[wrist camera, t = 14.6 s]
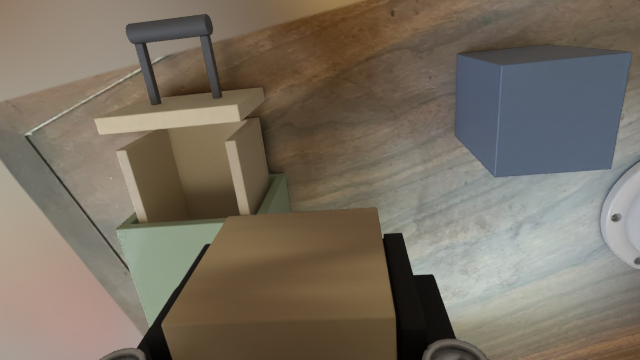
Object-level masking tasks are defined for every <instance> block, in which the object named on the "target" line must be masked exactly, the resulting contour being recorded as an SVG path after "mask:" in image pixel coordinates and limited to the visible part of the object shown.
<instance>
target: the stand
mask: <svg viewBox="0 0 640 360" xmlns="http://www.w3.org/2000/svg"><path fill="white" fill-rule="evenodd" d="M631 58H632V52H629V51H617V50H606V49H594V48H583V47H571V46H560V45H548V44H545V45H536V46H526V47H517V48H508V49H499V50H489V51H480V52H471V53H461V54H457V76H456V122H455V136H456V137H457V138H458V139H459V140H460V142H461V143H462V144H463V145H464V146H465V147H466V148H467V149H468V150H469V151H470V152H471V153H472V154H473V155H474V156H475V157H476V158H477V159H478V160H479V161H480V162H481V164H482V165H483V166H484V167H485V168H486V169H487V170H488V171H489V172H490V173H491V174H492V175H493V176H494V177H506V176H520V175H534V174H548V173H562V172H576V171H590V170H604V169H611V166H612V161H613V155H614V150H615V145H616V139H617V134H618V128H619V123H620V118H621V112H622V107H623V101H624V96H625V90H626V85H627V80H628V74H629V69H630V63H631Z"/></svg>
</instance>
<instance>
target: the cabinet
mask: <svg viewBox="0 0 640 360" xmlns="http://www.w3.org/2000/svg"><path fill="white" fill-rule="evenodd" d="M269 179H270V184H271V187H270V189H269V191H268V193H267V195H266V197H265V199H264V201H263V203H262V205H261V207H260V209H259V211H258V213H257V215H260V214H276V213H291V207H290V200H289V194H288V187H287V181H286V174H285V173H279V174H269ZM226 219H227V218H219V219H203V220H188V221H172V222H157V223H141V224H139V221H138V218H137V215H136V212H135V213H134V214H133V215H131V216H130V217H129V218H128V219H127V220H126V221H124V222H123V223H122V224H121V225H120V226H119V227H118V228H116V233H117V236H118V239H119V242H120V245H121V247H122V250H123V253H124V256H125V259H126V262H127V264H128V267H129V270H130V273H131V276H132V279H133V281H134V284H135V287H136V290H137V293H138V296H139V299H140V301H141V304H142V307H143V310H144V313H145V316H146V318H147V321H148V324H149V327H151V325H152V324H153V322H154V321H155V319H156V318H157V316H158V315H159V313H160V311H161V310H162V308H163V307H164V305H165V304H166V302H167V301H168V299H169V298H170V296H171V294H172V293H173V291H174V290H175V289H176V288H177V287H178V286H179V284H180V283H181V281H182V279H183V278H184V276H185V275H186V273H187V272H188V270H189V269H190V267H191V265H192V264H193V262H194V261H195V259H196V258H197V256H198V255H199V253H200V251H201V250H202V248H203V247H204V245H205V244H211V243H212V241H213V240H214V238H215V236H216V235H217V233H218V232H219V230H220V228H221V227H222V225H223V224H224V222H225V220H226Z"/></svg>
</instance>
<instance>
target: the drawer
mask: <svg viewBox="0 0 640 360" xmlns="http://www.w3.org/2000/svg"><path fill="white" fill-rule="evenodd" d="M212 32H213V27H212V22H211V19H210V17H209V16H208V15H207V14H202V15H195V16H187V17H179V18H172V19H164V20H156V21H148V22H141V23H133V24H128V25H127V26H126V34H127V37H128V39H129V41H130V42H131V43H133V44H135V47H136V51H137V54H138V58H139V62H140V65H141V69H142V73H143V76H144V80H145V83H146V87H147V91H148V94H149V98H150V99H148V100H145V101H142V102H139V103H136V104H134V105H131V106H128V107H125V108H122V109H119V110H117V111H114V112H111V113H108V114H105V115H102V116H100V117H97V118H95V119H94V120H95V123H96V126H97V129H98V132H99V134H100V135H103V134H113V133H124V132H135V131H145V130H155V131H153V132H151V133H149V134H147V135H145V136H143V137H142V138H140V139H138V140H136V141H134V142H132V143H130V144H128V145H126V146H124V147H122V148H121V149H119V150H117V151H116V153H117V156H118V159H119V163H120V166H121V169H122V172H123V175H124V178H125V181H126V184H127V187H128V190H129V193H130V197H131V200H132V203H133V206H134V209H135V212H136V215H137V218H138V221H139V224H141V223H157V222H172V221H188V220H203V219H219V218H227V217H229V216H244V215H257V213H258V211H259V209H260V207H261V205H262V203H263V201H264V199H265V197H266V195H267V193H268V191H269V189H270V187H271V184H270V179H269V173H268V167H267V161H266V155H265V149H264V144H263V138H262V132H261V126H260V120H259V118H248V119H244V118H245V117H246V116H248V115H249V114H250V113H251V112H252V111H253V110H255V109H256V108H257V107H258V106H259V105H260V104H262V103H263V102H264V101H265V98H264V92H263V87H259V88H249V89H240V90H230V91H221V87H220V82H219V77H218V72H217V67H216V62H215V58H214V53H213V48H212V43H211V38H210V35H211V34H212ZM198 36H200V40H201V45H202V50H203V54H204V59H205V64H206V68H207V73H208V78H209V82H210V87H211V93H201V94H192V95H182V96H173V97H163V98H160V95H159V91H158V87H157V84H156V80H155V76H154V72H153V68H152V65H151V61H150V57H149V53H148V50H147V46H146V43H148V42H157V41H165V40H173V39H182V38H190V37H198ZM156 129H157V130H156Z"/></svg>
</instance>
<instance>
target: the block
mask: <svg viewBox="0 0 640 360" xmlns="http://www.w3.org/2000/svg"><path fill="white" fill-rule="evenodd" d="M162 329H163V332H164V335H165V338H166V341H167V344H168V347H169V350H170V353H171V356H172V359H173V360H397V343H396V316H395V310H394V304H393V298H392V293H391V287H390V281H389V275H388V269H387V263H386V257H385V252H384V246H383V240H382V234H381V228H380V222H379V217H378V211H377V208H376V207H372V208H356V209H340V210H324V211H308V212H292V213H276V214H260V215H244V216H229V217H227V219H226V220H225V222H224V224H223V225H222V227H221V228H220V230H219V232H218V233H217V235H216V236H215V238H214V240H213V241H212V243H211V245H210V246H209V248H208V249H207V251H206V253H205V254H204V256H203V257H202V259H201V261H200V262H199V264H198V266H197V267H196V269H195V270H194V272H193V274H192V275H191V277H190V278H189V280H188V282H187V283H186V285H185V287H184V288H183V290H182V291H181V293H180V295H179V296H178V298H177V299H176V301H175V303H174V304H173V306H172V308H171V309H170V311H169V312H168V314H167V316H166V317H165V319H164V320H163V322H162Z"/></svg>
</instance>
